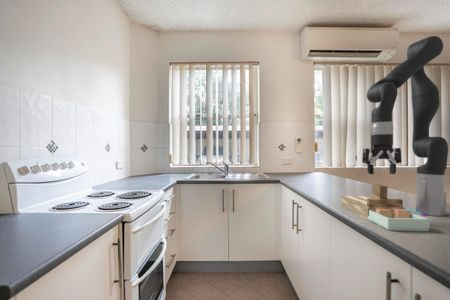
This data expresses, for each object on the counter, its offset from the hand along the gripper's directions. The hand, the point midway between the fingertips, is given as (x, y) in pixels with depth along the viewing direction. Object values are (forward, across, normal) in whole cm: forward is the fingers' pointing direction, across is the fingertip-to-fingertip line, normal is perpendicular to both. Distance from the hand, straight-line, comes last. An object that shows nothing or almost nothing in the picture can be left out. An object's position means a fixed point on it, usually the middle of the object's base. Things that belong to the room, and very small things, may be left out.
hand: (381, 174), depth 98 cm
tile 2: (+15, -3, +6) cm, 16 cm away
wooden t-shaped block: (+13, 0, 0) cm, 13 cm away
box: (+18, 0, +9) cm, 20 cm away
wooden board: (+18, 0, -8) cm, 19 cm away
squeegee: (+19, -16, -18) cm, 31 cm away
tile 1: (+15, +4, +6) cm, 16 cm away
